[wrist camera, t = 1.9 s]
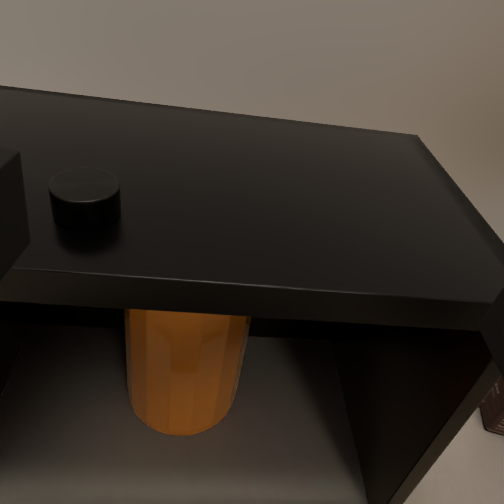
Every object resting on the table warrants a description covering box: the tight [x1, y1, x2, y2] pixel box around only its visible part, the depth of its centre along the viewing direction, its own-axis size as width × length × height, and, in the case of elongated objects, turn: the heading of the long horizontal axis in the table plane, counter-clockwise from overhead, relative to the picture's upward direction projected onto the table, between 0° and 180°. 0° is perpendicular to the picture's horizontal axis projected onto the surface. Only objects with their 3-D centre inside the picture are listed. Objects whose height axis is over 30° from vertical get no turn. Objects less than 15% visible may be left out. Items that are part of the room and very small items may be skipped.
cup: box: [124, 309, 251, 436], centre depth 29 cm, size 8×8×12 cm
